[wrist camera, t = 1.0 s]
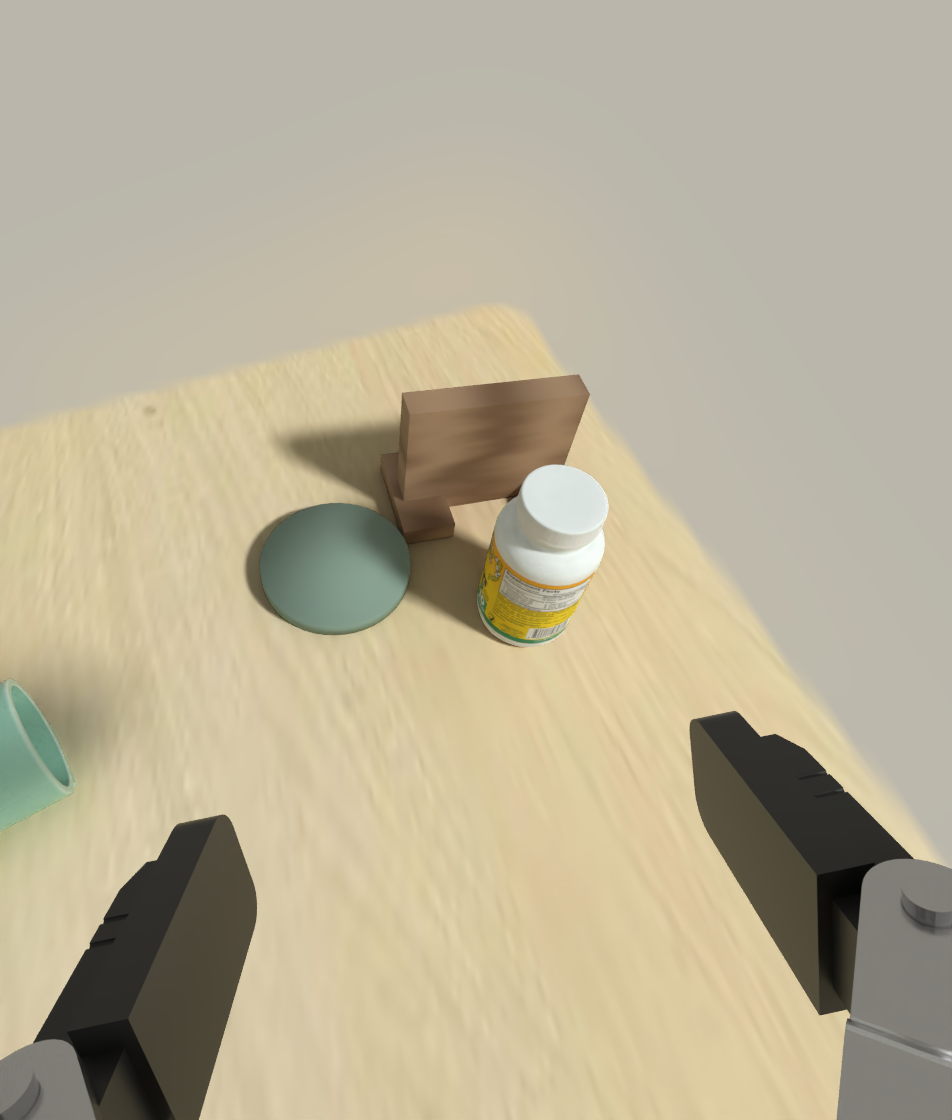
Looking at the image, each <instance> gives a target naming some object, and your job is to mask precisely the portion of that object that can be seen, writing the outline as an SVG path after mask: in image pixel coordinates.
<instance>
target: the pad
mask: <svg viewBox="0 0 952 1120" xmlns="http://www.w3.org/2000/svg"><path fill="white" fill-rule="evenodd" d="M260 576H261V580H262V584H263V588H264V591H265V595H266V597H267V599H268V601H269V603H270V604H271V605H272V607H273V608H274V610H275V611H276V612H277V613H278V614H279V615H280V616H281V617H282V618H284V619H285V620H286V621H288V622H289V623H291V624H293V625H294V626H296V627H298V628H301V629H303V630H306V631H309V632H313V633H317V634H323V635H344V634H350V633H355V632H358V631H362V630H365V629H367V628H369V627H372V626H374V625H375V624H377V623H379V622H381V621H382V620H383V619H385V618H386V617H387V616H389V615H390V614H391V613H392V612H393V611H394V610H395V609H396V607H397V606H398V605H399V603H400V602H401V600H402V598H403V597H404V595H405V592H406V590H407V587H408V582H409V576H410V553H409V549H408V546H407V543H406V541H405V539H404V537H403V536H402V534H401V533H400V531H399V530H398V529H397V528H396V527H395V525H393V524H392V523H391V522H390V521H389V520H388V519H386V518H385V517H383V516H382V515H380V514H378V513H377V512H375V511H372V510H370V509H368V508H365V507H361V506H358V505H352V504H344V503H329V504H322V505H317V506H313V507H309V508H306V509H304V510H301V511H299V512H297V513H295V514H293V515H292V516H290V517H288V518H287V519H285V520H284V521H283V522H282V523H280V524H279V525H278V526H277V527H276V528H275V529H274V530H273V532H272V533H271V534H270V536H269V537H268V539H267V541H266V542H265V544H264V547H263V550H262V552H261V557H260Z"/></svg>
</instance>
